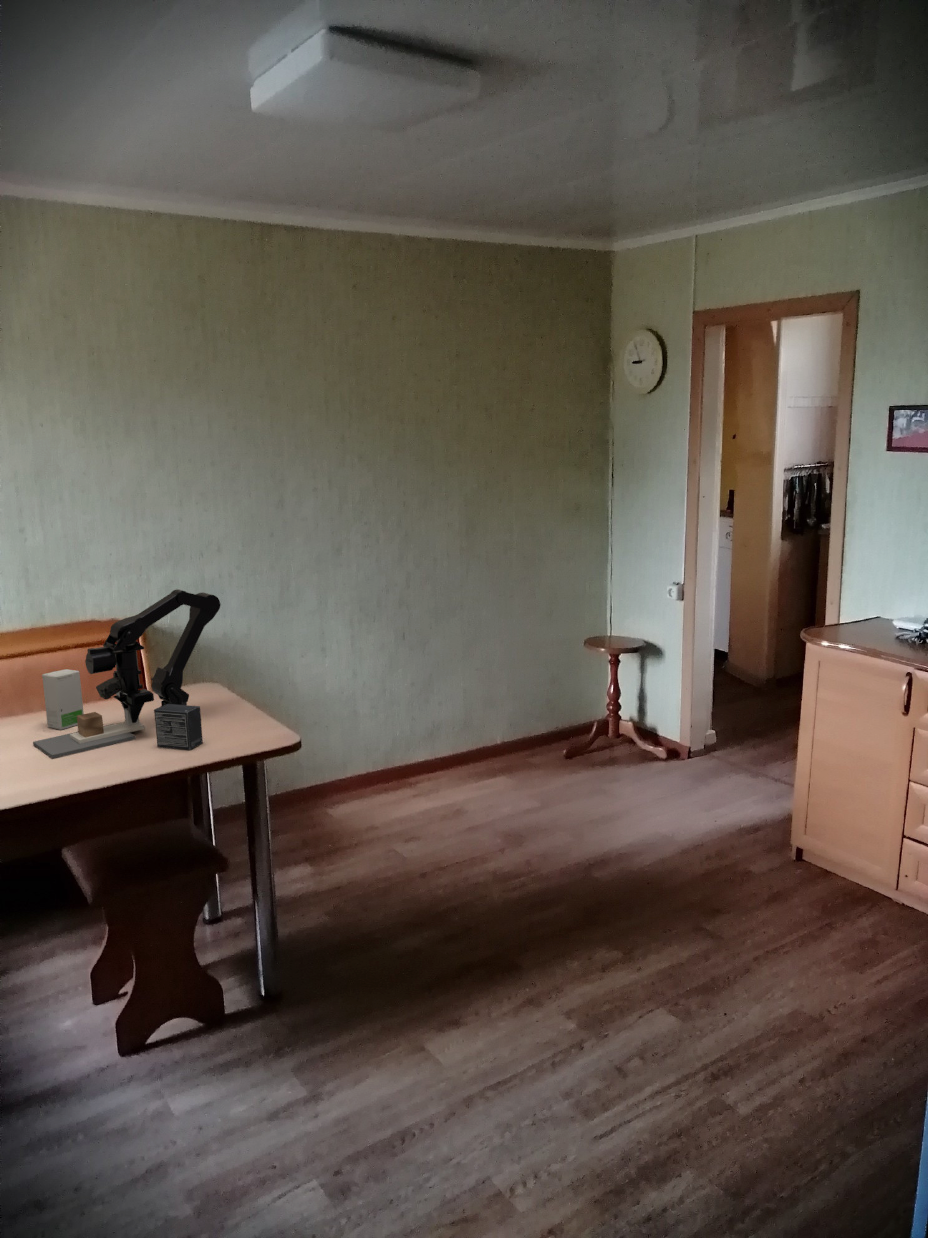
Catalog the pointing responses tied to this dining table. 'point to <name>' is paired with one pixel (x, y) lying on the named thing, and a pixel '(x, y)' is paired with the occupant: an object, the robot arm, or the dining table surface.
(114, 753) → the dining table surface
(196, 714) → the small box
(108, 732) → the off-white strip
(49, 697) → the skincare box
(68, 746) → the charcoal board
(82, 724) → the walnut block
